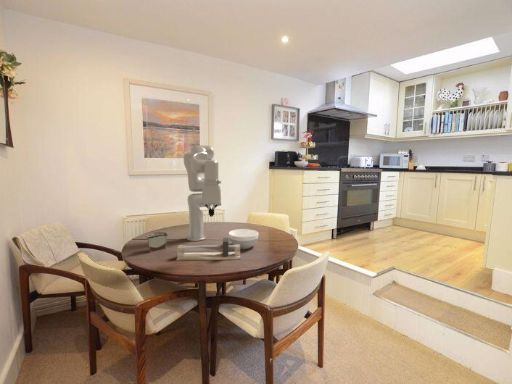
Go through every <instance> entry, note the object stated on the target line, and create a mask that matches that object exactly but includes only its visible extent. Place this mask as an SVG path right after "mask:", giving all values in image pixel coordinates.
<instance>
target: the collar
mask: <svg viewBox="0 0 512 384" xmlns="http://www.w3.org/2000/svg"><path fill="white" fill-rule="evenodd" d="M222 245H223V251H222V252H223V256H228V252H229V251H228V245H229V237H223V238H222Z"/></svg>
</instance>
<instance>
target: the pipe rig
mask: <svg viewBox="0 0 512 384" xmlns="http://www.w3.org/2000/svg"><path fill="white" fill-rule="evenodd" d="M240 259H241V249H240V244H237V245H233V244H228V256H223V244H218V245H217V244H212V245H210V244H209V245H206V244H205V245H204V244H203V245H178V246H177V258H176V261H177V262H178V261H180V262H181V261H213V260H215V261H216V260H217V261H219V260H240Z"/></svg>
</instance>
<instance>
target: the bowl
mask: <svg viewBox="0 0 512 384" xmlns="http://www.w3.org/2000/svg"><path fill="white" fill-rule="evenodd" d="M228 236H229V237H228V239H229V242H230V243H231V245H237V244H240V250H245V249H251V248H252V247H253V246H254V245H256V243H257V241H258V238H259V231H257V230H255V229H249V228H248V229H247V228H241V229H240V228H239V229H237V228H236V229H233V230H230V231H229V232H228Z"/></svg>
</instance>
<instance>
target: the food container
mask: <svg viewBox="0 0 512 384" xmlns="http://www.w3.org/2000/svg"><path fill="white" fill-rule="evenodd" d="M167 237H168V232H166V231H158V232H150V233H148V234H147V236H146V241H147V245H148V251H149V253H150V254H151V253H155V252H159V251H163V250H166V249H167V240H168V238H167Z"/></svg>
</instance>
